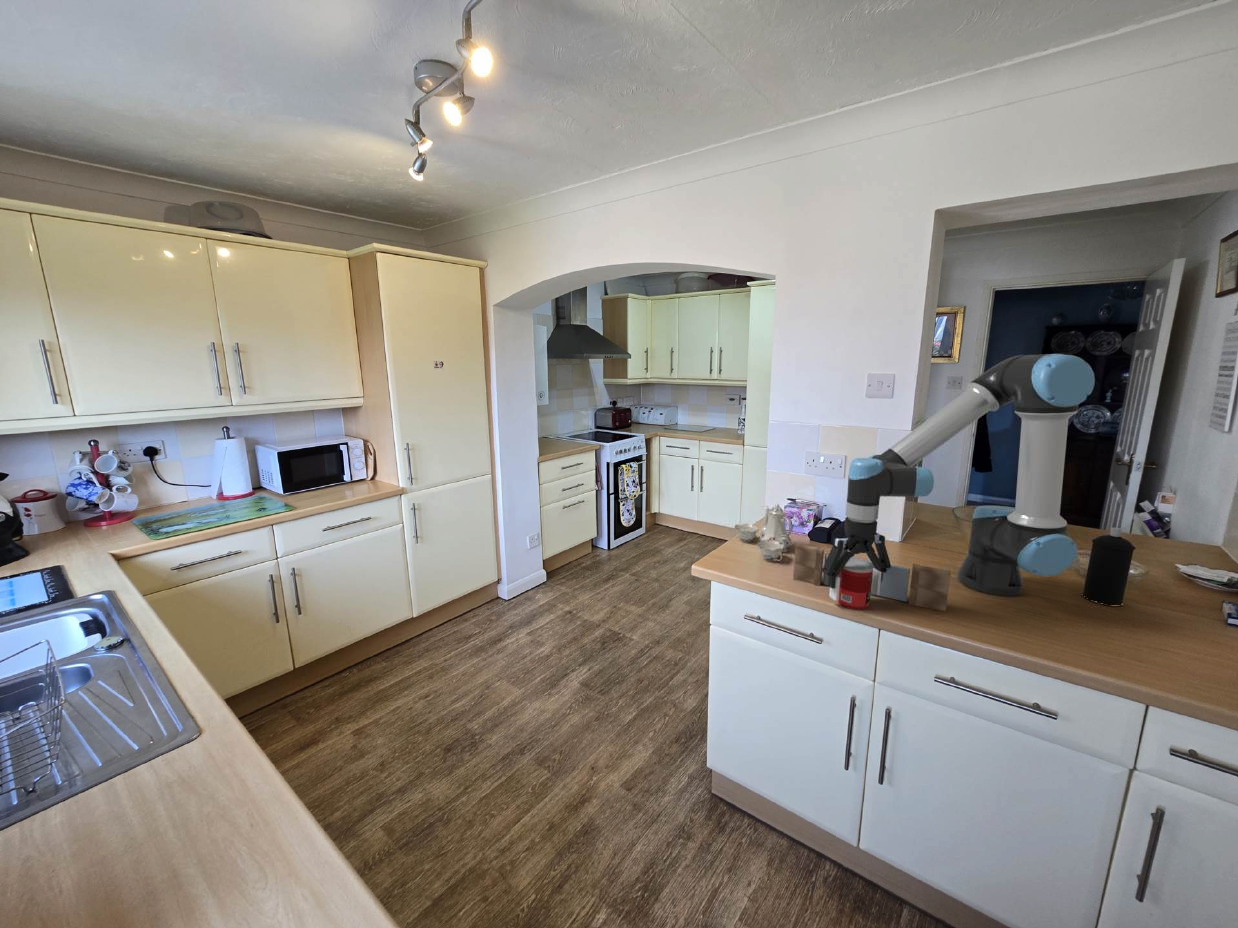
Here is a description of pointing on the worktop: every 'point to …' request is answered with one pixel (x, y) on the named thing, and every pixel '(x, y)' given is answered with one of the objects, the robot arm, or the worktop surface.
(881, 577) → the robot arm
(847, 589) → the canned food
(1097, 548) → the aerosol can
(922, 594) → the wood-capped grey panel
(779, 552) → the chinaware
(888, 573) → the door leaf
